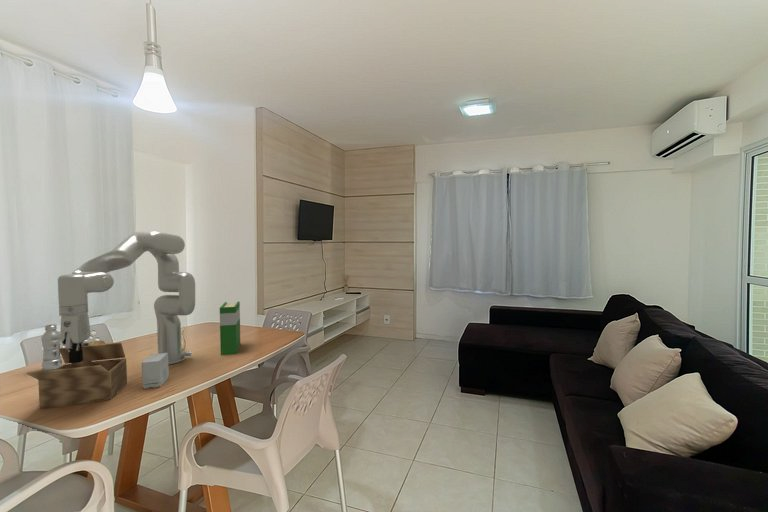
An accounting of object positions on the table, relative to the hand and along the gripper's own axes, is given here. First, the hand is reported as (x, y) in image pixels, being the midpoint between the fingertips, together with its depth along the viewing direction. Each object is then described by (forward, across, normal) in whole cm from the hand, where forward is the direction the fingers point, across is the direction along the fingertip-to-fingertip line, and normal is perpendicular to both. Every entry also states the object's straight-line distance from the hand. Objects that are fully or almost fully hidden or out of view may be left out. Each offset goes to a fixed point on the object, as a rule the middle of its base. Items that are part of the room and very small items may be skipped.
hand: (76, 361), depth 120 cm
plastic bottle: (+15, +45, +27) cm, 55 cm away
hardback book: (+15, +48, -46) cm, 68 cm away
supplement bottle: (+15, +39, +14) cm, 44 cm away
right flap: (+1, +13, 0) cm, 13 cm away
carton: (+15, +7, 0) cm, 16 cm away
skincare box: (+15, +11, -21) cm, 28 cm away
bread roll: (+15, +60, +17) cm, 64 cm away
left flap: (+2, -4, 0) cm, 5 cm away
